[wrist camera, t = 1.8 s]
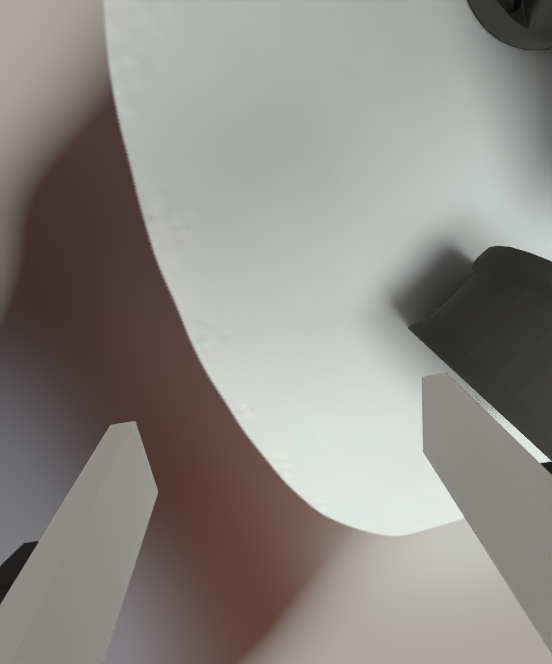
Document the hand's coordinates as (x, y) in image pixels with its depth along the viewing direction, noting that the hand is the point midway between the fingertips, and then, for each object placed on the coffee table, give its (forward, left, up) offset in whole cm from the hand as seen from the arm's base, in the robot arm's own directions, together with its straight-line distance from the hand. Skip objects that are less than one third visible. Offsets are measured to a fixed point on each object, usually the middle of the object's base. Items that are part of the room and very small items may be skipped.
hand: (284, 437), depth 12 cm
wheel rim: (+10, +21, -28) cm, 36 cm away
